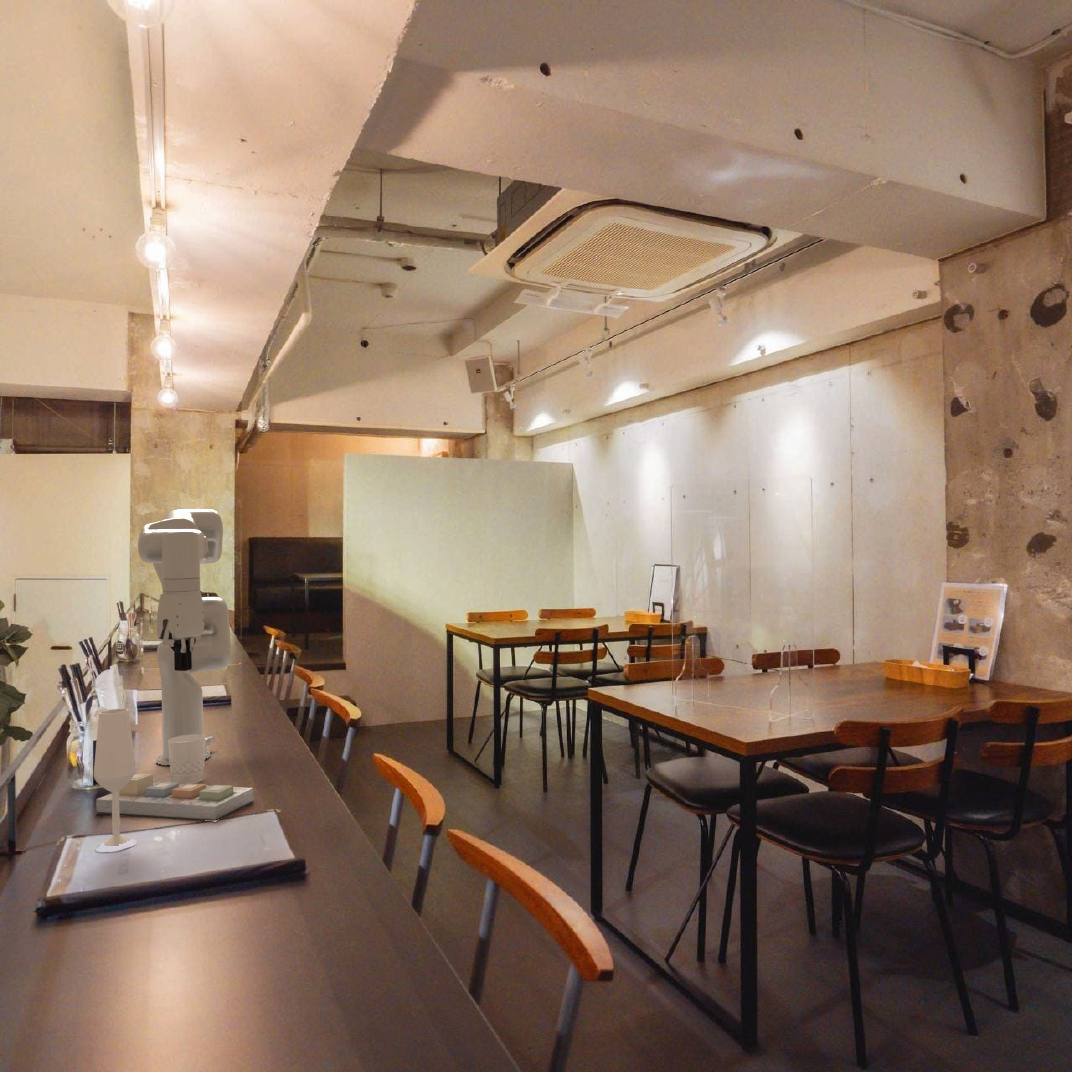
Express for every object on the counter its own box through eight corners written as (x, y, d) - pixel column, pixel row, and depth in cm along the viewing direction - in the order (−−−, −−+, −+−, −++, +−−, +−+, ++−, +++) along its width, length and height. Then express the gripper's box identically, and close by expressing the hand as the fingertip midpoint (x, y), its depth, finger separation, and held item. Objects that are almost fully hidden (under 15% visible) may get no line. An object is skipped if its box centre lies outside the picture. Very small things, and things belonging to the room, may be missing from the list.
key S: (135, 789, 164) (135, 772, 164) (153, 790, 163) (152, 773, 163) (118, 796, 160) (118, 778, 160) (137, 797, 158) (136, 779, 158)
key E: (214, 801, 159) (214, 784, 159) (233, 803, 158) (233, 785, 158) (199, 809, 155) (199, 790, 155) (219, 810, 153) (218, 792, 154)
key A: (187, 800, 161) (187, 782, 161) (206, 801, 159) (206, 783, 160) (172, 807, 156) (172, 789, 156) (191, 808, 155) (191, 790, 155)
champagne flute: (97, 842, 140) (95, 710, 141) (138, 836, 143) (136, 706, 143) (92, 855, 134) (90, 716, 134) (135, 848, 137) (133, 712, 137)
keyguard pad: (140, 795, 168) (140, 781, 168) (253, 802, 161) (253, 788, 161) (96, 814, 156) (96, 799, 156) (215, 822, 149) (215, 806, 149)
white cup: (191, 787, 173) (191, 742, 173) (160, 786, 175) (160, 742, 175) (213, 777, 181) (212, 734, 181) (183, 776, 182) (182, 733, 183)
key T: (161, 798, 162) (161, 781, 162) (179, 799, 161) (179, 782, 161) (145, 805, 158) (145, 787, 158) (164, 806, 157) (163, 789, 157)
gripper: (190, 583, 177) (191, 663, 178) (141, 589, 163) (143, 676, 163) (218, 584, 175) (220, 664, 176) (171, 589, 161) (173, 677, 161)
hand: (183, 669), depth 169 cm, fingers closed
